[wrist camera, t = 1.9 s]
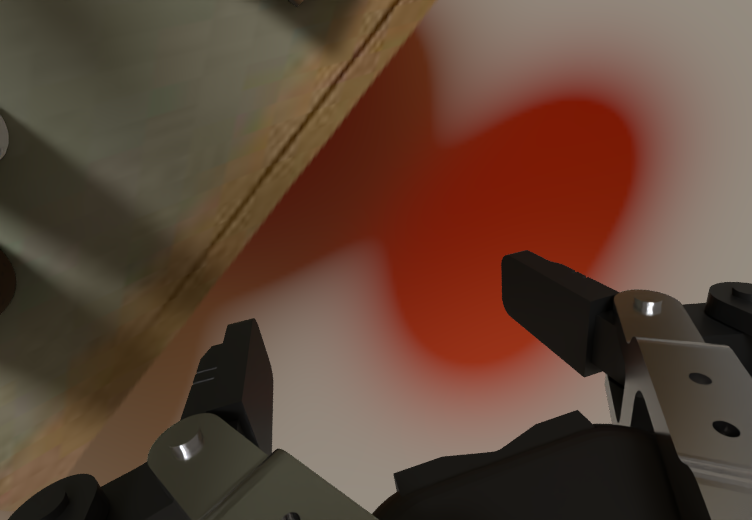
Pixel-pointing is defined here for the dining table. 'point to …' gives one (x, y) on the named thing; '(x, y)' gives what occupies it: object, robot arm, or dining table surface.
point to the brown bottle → (6, 282)
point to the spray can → (3, 137)
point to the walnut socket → (296, 2)
